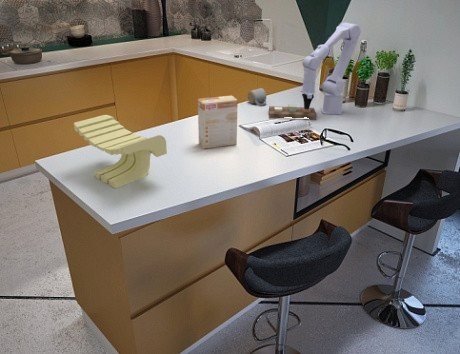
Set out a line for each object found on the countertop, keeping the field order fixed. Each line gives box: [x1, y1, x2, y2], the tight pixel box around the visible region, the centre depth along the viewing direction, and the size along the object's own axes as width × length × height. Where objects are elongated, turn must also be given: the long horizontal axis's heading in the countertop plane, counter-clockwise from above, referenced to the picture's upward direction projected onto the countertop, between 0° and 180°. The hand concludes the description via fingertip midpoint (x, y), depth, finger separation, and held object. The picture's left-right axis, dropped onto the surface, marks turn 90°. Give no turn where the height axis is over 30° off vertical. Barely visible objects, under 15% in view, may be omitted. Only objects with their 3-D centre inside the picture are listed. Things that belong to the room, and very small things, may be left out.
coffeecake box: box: [197, 95, 238, 150], centre depth 178 cm, size 15×7×20 cm, turn 111°
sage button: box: [287, 104, 298, 112], centre depth 217 cm, size 4×4×3 cm
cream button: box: [274, 106, 283, 112], centre depth 218 cm, size 4×4×3 cm
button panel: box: [268, 105, 318, 121], centre depth 218 cm, size 23×12×2 cm, turn 87°
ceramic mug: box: [247, 87, 267, 107], centre depth 233 cm, size 11×8×8 cm
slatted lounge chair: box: [73, 114, 168, 189], centre depth 150 cm, size 30×16×18 cm, turn 48°
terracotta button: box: [302, 107, 311, 113], centre depth 217 cm, size 4×4×3 cm
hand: (306, 108), depth 216 cm, fingers closed
